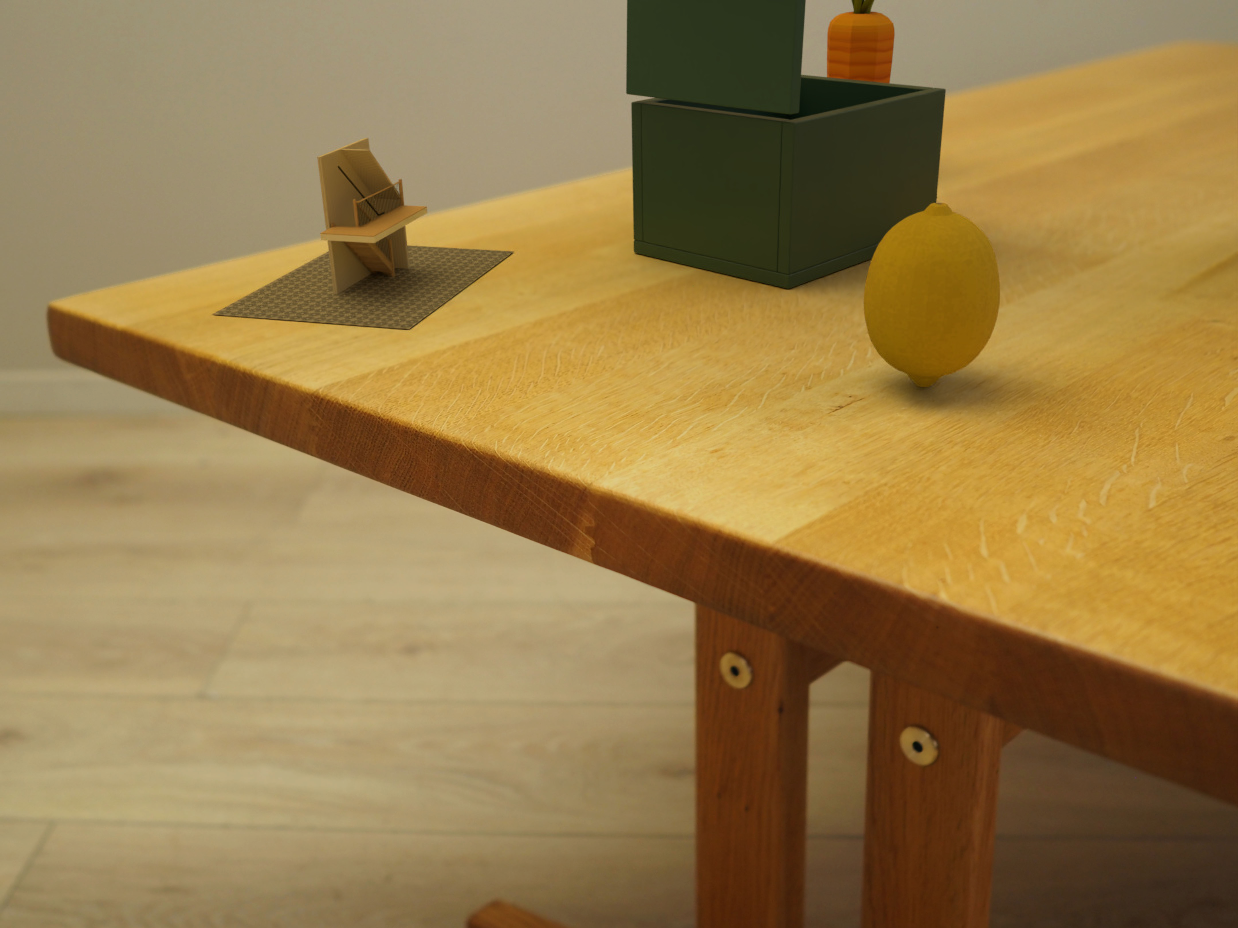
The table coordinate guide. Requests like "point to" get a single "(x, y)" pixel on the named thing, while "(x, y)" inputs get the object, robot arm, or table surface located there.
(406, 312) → the architectural model
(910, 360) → the lemon
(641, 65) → the bin lid
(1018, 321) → the table surface
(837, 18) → the carrot
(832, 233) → the bin
